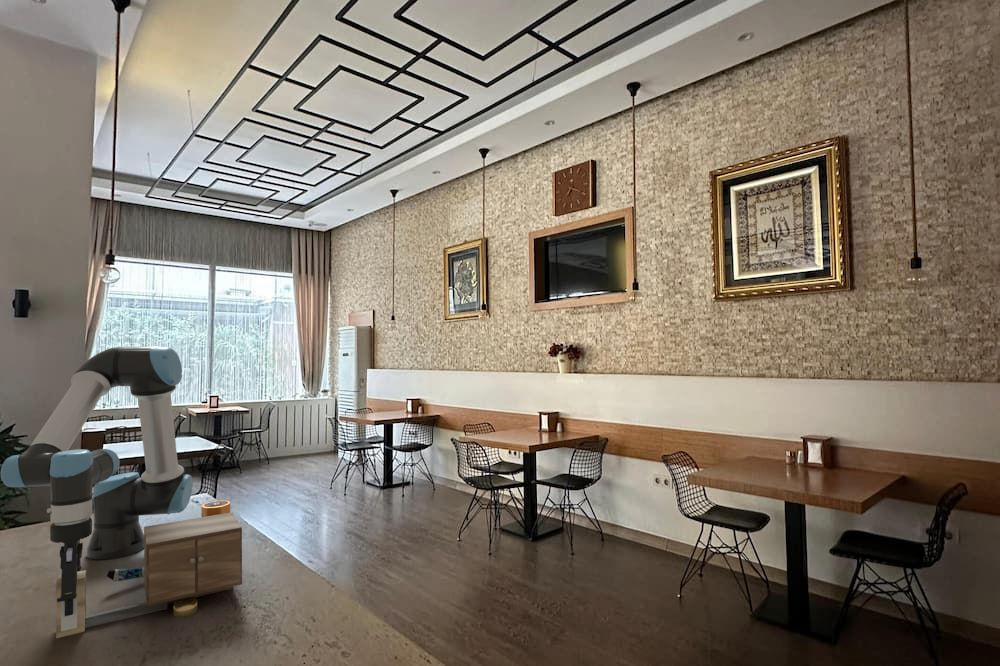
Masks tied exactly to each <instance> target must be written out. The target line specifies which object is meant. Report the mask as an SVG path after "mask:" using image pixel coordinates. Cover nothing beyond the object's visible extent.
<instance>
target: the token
mask: <svg viewBox="0 0 1000 666" xmlns="http://www.w3.org/2000/svg"><path fill="white" fill-rule="evenodd" d="M172 604H173V607H172V608H173V614H172V615H173V616H174V617H178V618H179V617H180V618H183V617H187V616H188V617H189V616H191V615H192V614H195V613H196V612H197V611H198V597H195V598H194V597H189V598H184V599H180V600H178V601H176V602H174V603H172Z"/></svg>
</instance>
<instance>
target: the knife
mask: <svg viewBox="0 0 1000 666" xmlns="http://www.w3.org/2000/svg"><path fill="white" fill-rule="evenodd" d="M106 577H107V578H108V579H111V580H112V581H114V582H121V581H125V580H126V581H127V580H133V579H139V578H144V566H143V567H133V568H120V569H119V568H118V569H117V568H116V569H111V570H108V571H107V574H106Z"/></svg>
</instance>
